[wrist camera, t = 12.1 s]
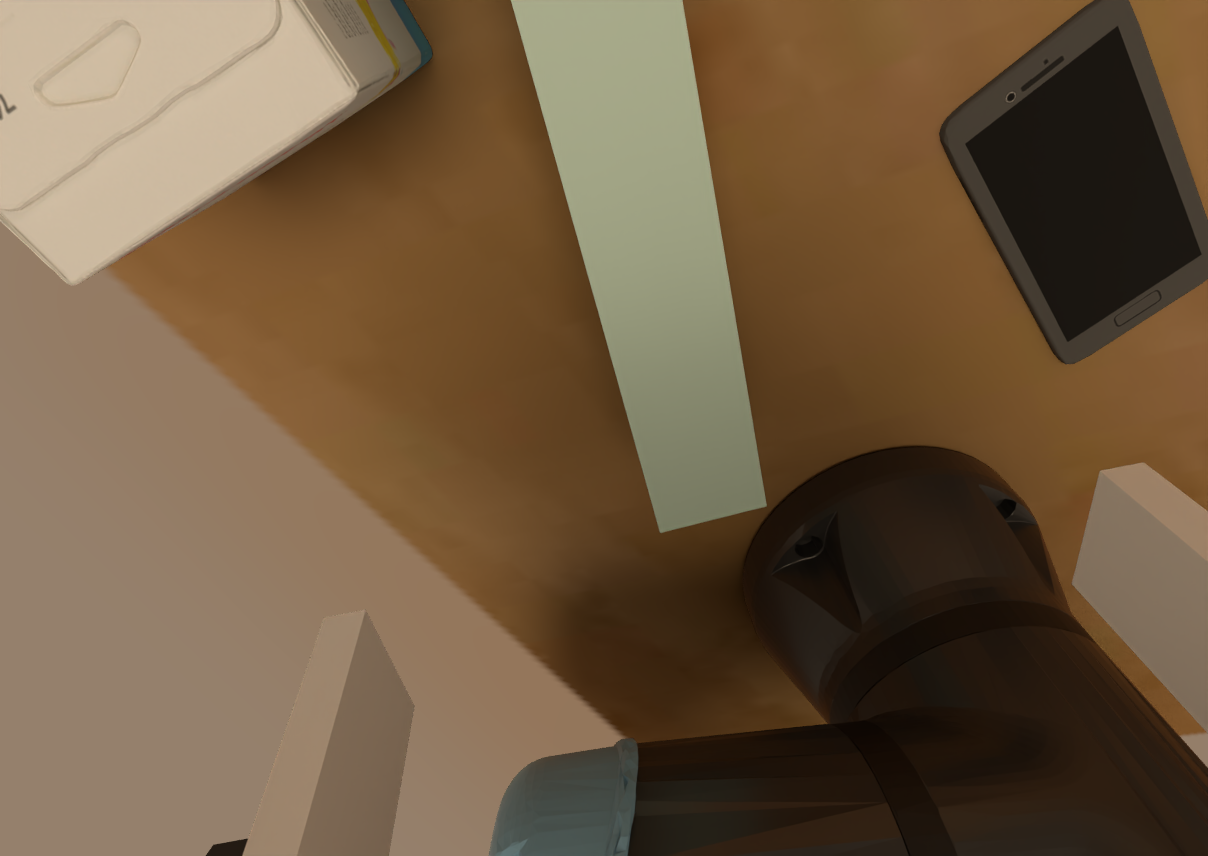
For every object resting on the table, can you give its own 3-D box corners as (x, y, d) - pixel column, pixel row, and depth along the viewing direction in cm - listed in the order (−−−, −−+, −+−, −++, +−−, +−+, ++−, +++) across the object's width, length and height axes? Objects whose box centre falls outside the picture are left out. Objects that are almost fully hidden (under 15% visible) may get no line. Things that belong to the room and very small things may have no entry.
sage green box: (718, 398, 32) (766, 506, 26) (439, 471, 33) (414, 594, 26) (549, -473, 18) (556, -751, 11) (70, -307, 19) (-188, -474, 12)
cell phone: (1056, 365, 33) (1066, 372, 33) (926, 126, 27) (936, 129, 26) (1213, 264, 31) (1227, 270, 31) (1110, -20, 25) (1125, -20, 24)
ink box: (263, -237, 20) (-3, -463, 10) (440, 57, 24) (373, 101, 14) (46, -64, 22) (-366, -113, 12) (246, 184, 26) (67, 301, 16)
